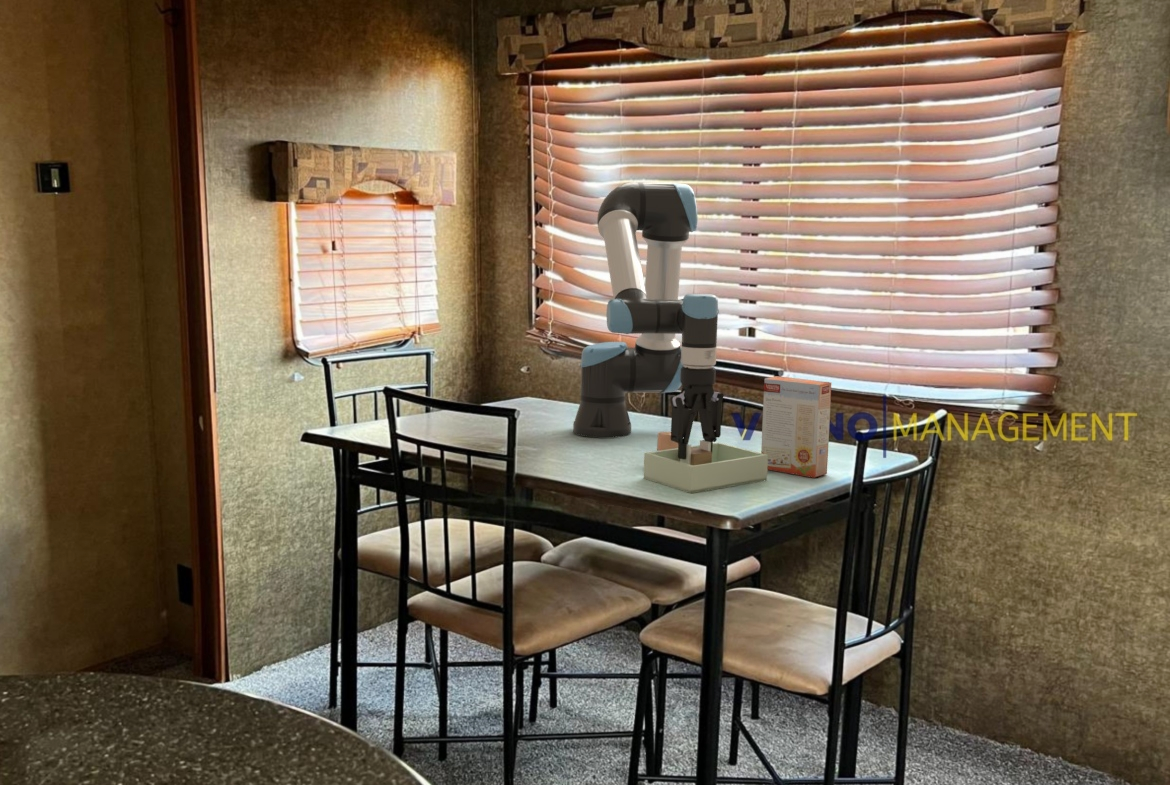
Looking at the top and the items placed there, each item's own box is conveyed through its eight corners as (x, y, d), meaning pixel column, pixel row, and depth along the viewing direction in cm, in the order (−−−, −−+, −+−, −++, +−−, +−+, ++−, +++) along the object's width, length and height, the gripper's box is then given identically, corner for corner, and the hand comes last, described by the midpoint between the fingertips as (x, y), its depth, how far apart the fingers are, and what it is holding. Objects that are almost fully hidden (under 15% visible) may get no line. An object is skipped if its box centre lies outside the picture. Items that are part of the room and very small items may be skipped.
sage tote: (643, 478, 242) (644, 452, 241) (717, 466, 254) (718, 442, 253) (691, 493, 229) (692, 466, 228) (766, 480, 242) (767, 455, 241)
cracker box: (828, 474, 248) (833, 381, 245) (814, 479, 244) (819, 384, 241) (773, 464, 257) (777, 374, 254) (759, 468, 253) (763, 377, 250)
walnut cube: (678, 472, 245) (679, 450, 244) (696, 469, 248) (696, 447, 247) (693, 477, 241) (694, 454, 240) (711, 474, 244) (711, 452, 243)
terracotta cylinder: (652, 463, 257) (653, 433, 256) (669, 460, 260) (670, 430, 259) (666, 467, 253) (667, 436, 252) (683, 464, 256) (684, 434, 255)
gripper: (677, 371, 232) (674, 480, 236) (740, 365, 243) (736, 470, 247) (654, 366, 238) (651, 473, 242) (717, 361, 249) (713, 463, 253)
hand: (694, 471), depth 244 cm, fingers closed on walnut cube, 5 cm apart
